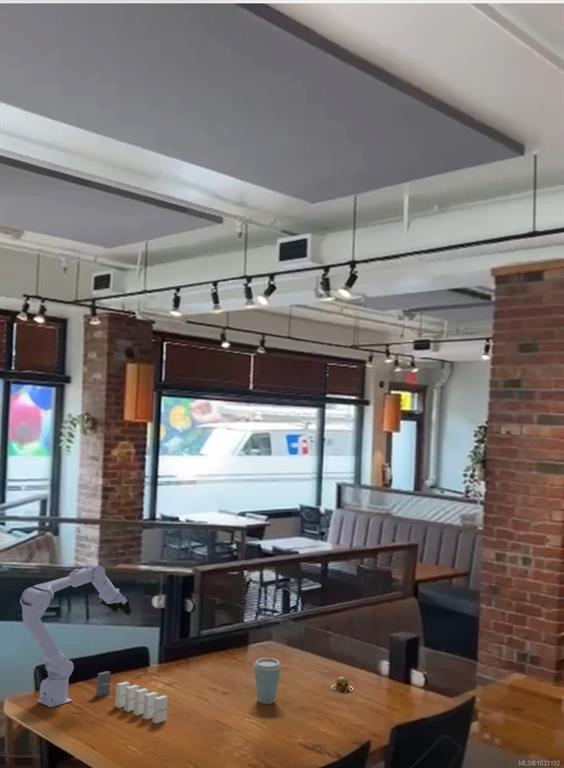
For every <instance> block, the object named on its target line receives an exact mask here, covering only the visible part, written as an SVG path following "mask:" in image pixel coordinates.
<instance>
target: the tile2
mask: <svg viewBox="0 0 564 768" xmlns="http://www.w3.org/2000/svg"><path fill="white" fill-rule="evenodd" d="M129 686H131V682H129V681H123V682H118V683H116V688H115V689H116V690H115V702H114V703H115V705H114V706H115V708H117V709H120V708H123V707H124V706H125V693H126V687H129Z"/></svg>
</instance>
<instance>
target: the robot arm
mask: <svg viewBox="0 0 564 768" xmlns="http://www.w3.org/2000/svg"><path fill="white" fill-rule="evenodd" d="M88 583H91V584H92V585H93V587H94V588H95V589H96V590H97V592H98V593H99V594H98V597H99V599H100V600H101V602H100V604H101V605H103V606H106V607H107V608H109V609H110V610H111V611H113V612H114V613H117V611H118V610H121V611H122V612H123V613H124V614H125V615H126V616H130V614H131V613H132V608H131V607H130V598H129V597H128V596H127V595H126V596H123V595H122V593H120V591H121V589H120V588H118V587H117V588H116V587H115V586H114V585H113V582H111V580H110V579H109V578H108V577H107V575H106V569H105V567H102V566H101V565H98V564H93V563H87V564H86V565H85V566H84V567H83V568H74V569H73V570H72V571H71V572H70V573H68V576H65V577H62V578H58V579H54V580H50V581H46V582H43V583H38V584H35V585H33V586H32V587H28V588H26V589H24V591H23V592H22V594H21V596H20V597H21V598H20V600H19V603H20V605H21V611H22V613H21V614H22V622H23V624H24V626H25V628H26V629H27V630H28V633H29V634H30V635H31V637H32V638H33V639H34V642H35V643H36V645H37V647H38V648H39V649H40V652H41V653H42V654H43V656H44V658H43V661H44V668H45V670H46V672H47V675H48V676H47V677H46V678H45V679H43V680H42V681H41V682H40V686H39V697H38V700H37V702H38V703H40V704H42V705H45V706H47V707H49V708H53V707H56V706H60V705H64V704H67V703H71V702H73V699H72V698H69V697H68V691H69V678H70V676H71V675H72V673H73V671H74V668H75V666H74V663H73V661H72V660H70V659H68V657H67V656H66V655H65V654H64V653H63V652H61V651H60V649H59V648H58V646H57V644H56V642H55V640H53V637H52V636H51V634H50V632H49V631H48V629H47V628H46V627H45V624H44V623H43V621H42V619H41V618H42V617H43V616H44V614H45V613H46V610H47V609H48V608H49V605H50V603H51V600H53V599H54V595H55V593H56V592H59V591H60V590H63V589H65V588H68V587H70V586H71V587H73V588H77V587H80V586H83V585H85V584H88Z"/></svg>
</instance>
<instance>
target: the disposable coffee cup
mask: <svg viewBox="0 0 564 768" xmlns="http://www.w3.org/2000/svg"><path fill="white" fill-rule="evenodd" d="M253 668H254V674H255V675H254V676H255V685H256V696H257V697H256V698H257V702H259V703H260V704H265V705H267V704H273V703H275V700H276V695H277V691H278V690H277V689H278V684H279V679H280V673H281V672H280V671H281V669H282V667H281V663H280V660H278V659H276V658H273V657H262V658H258V659H257V660H255V662H254V663H253Z"/></svg>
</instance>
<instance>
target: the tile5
mask: <svg viewBox="0 0 564 768" xmlns="http://www.w3.org/2000/svg"><path fill="white" fill-rule="evenodd" d="M156 697H159V692H156V691H151V692H148V694H145V696H144V710H143V714H142V718H143V719H145V720H150V719H151V718H152V719H153V709H154V698H156Z"/></svg>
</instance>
